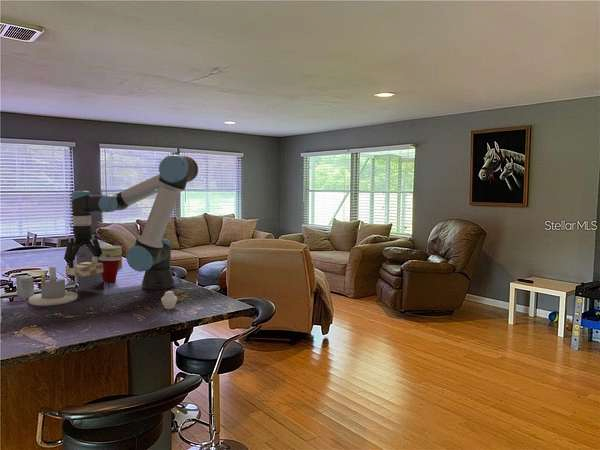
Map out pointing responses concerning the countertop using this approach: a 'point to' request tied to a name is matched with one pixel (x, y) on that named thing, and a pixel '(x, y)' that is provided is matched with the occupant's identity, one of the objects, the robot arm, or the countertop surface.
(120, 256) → the canned food
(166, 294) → the muffin
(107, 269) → the plastic cup
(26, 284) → the medicine box
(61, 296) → the post stand
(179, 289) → the countertop surface
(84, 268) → the slotted arch block
